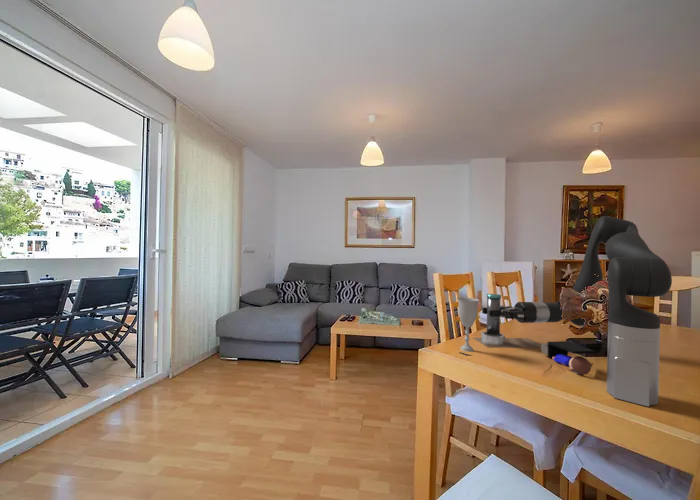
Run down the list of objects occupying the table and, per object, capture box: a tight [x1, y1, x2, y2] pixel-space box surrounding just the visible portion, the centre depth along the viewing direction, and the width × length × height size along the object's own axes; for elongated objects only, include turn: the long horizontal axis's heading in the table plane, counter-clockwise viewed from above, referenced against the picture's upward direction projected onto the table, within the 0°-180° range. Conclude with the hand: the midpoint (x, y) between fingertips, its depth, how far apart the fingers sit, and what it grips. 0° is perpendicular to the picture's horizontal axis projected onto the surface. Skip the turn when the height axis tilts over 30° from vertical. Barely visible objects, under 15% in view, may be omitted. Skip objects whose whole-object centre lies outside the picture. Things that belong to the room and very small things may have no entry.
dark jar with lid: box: [486, 293, 502, 335], centre depth 114 cm, size 5×5×14 cm
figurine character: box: [540, 340, 596, 376], centre depth 94 cm, size 7×8×15 cm
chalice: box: [456, 297, 480, 357], centre depth 105 cm, size 7×7×18 cm
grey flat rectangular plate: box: [472, 337, 543, 349], centre depth 115 cm, size 22×12×1 cm, turn 93°
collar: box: [480, 330, 506, 346], centre depth 114 cm, size 8×8×3 cm
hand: (486, 312), depth 114 cm, fingers closed on dark jar with lid, 4 cm apart
